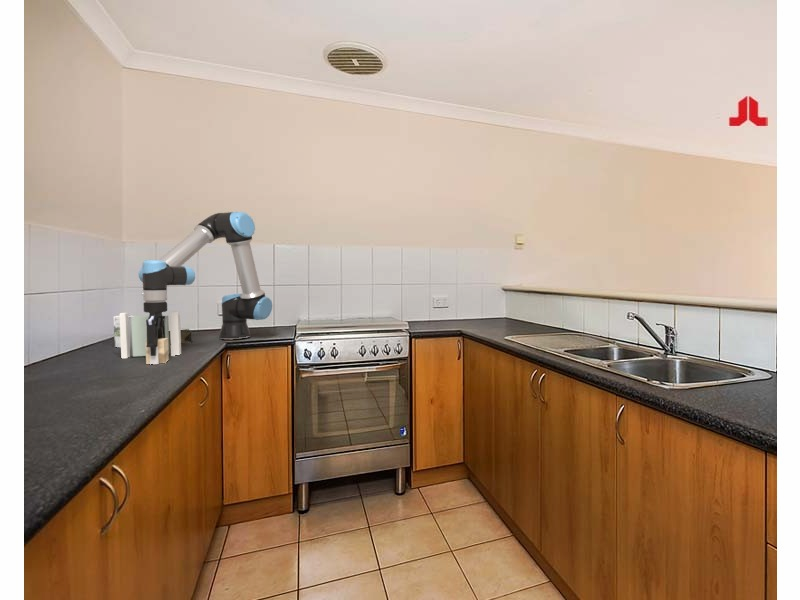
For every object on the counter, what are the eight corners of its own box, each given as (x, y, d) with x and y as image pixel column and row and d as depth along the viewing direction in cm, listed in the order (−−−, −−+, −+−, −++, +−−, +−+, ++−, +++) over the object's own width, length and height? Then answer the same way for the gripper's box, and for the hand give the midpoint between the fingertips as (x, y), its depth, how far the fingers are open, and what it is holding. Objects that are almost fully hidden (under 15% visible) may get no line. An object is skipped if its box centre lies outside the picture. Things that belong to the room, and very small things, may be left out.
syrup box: (136, 345, 176) (134, 314, 175) (125, 348, 170) (124, 316, 169) (124, 345, 176) (123, 314, 175) (114, 348, 170) (112, 316, 169)
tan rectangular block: (168, 360, 147) (167, 338, 146) (164, 363, 142) (163, 340, 141) (151, 361, 145) (150, 338, 144) (146, 364, 140) (145, 340, 140)
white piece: (181, 354, 159) (179, 311, 157) (179, 355, 156) (177, 312, 155) (124, 356, 153) (122, 312, 152) (121, 358, 150) (119, 313, 149)
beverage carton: (192, 343, 184) (192, 330, 184) (145, 347, 173) (144, 333, 172) (190, 340, 190) (189, 328, 190) (144, 345, 179) (143, 331, 178)
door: (169, 353, 157) (168, 315, 156) (166, 355, 153) (165, 316, 152) (131, 355, 153) (130, 316, 152) (128, 357, 150) (126, 317, 148)
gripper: (152, 299, 150) (154, 357, 151) (134, 303, 132) (136, 368, 133) (173, 299, 152) (175, 356, 153) (158, 303, 134) (160, 367, 135)
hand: (157, 362), depth 143 cm, fingers open, 6 cm apart
